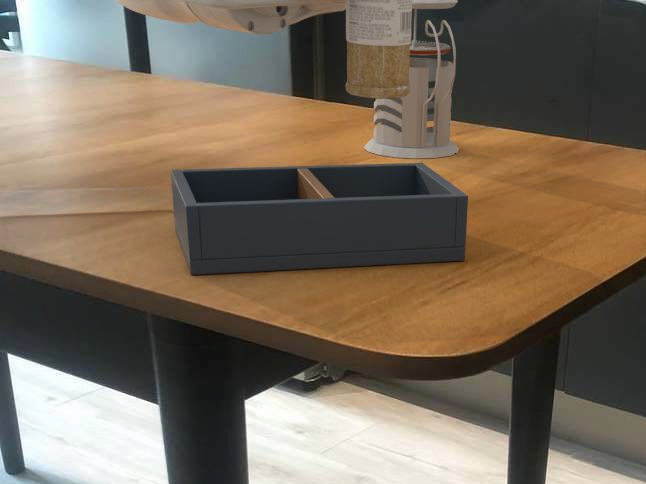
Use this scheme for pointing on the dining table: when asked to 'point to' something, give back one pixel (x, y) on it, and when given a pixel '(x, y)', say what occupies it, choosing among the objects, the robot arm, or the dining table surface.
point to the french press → (419, 101)
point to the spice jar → (378, 48)
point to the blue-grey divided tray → (316, 217)
